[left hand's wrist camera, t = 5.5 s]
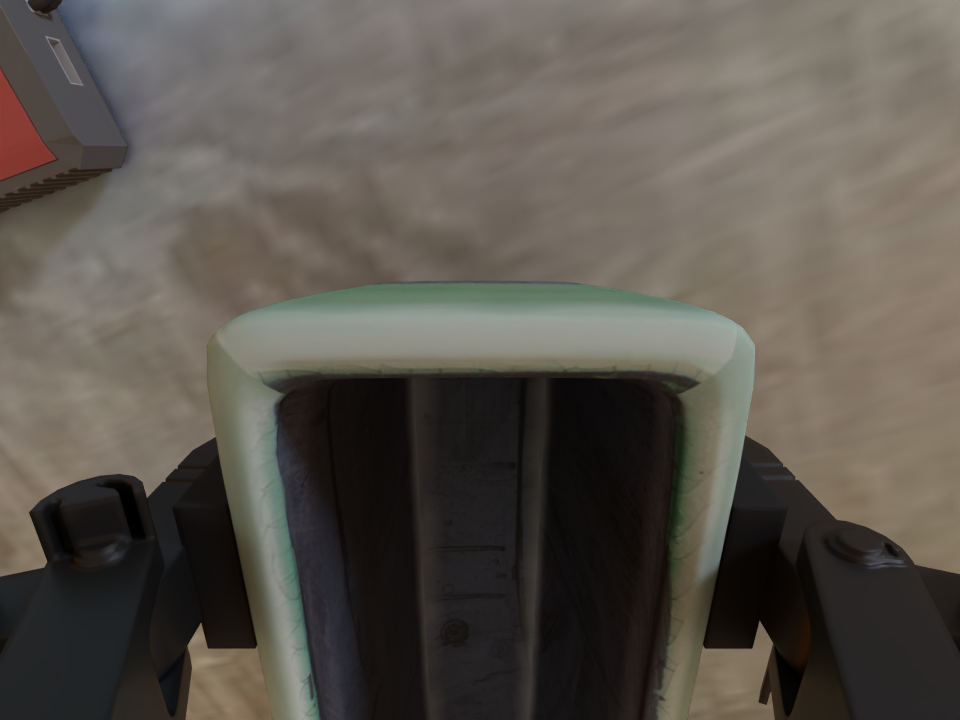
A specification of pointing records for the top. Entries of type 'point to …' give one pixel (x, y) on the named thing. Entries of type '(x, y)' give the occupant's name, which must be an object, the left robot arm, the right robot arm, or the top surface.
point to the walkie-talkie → (48, 108)
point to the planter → (480, 496)
